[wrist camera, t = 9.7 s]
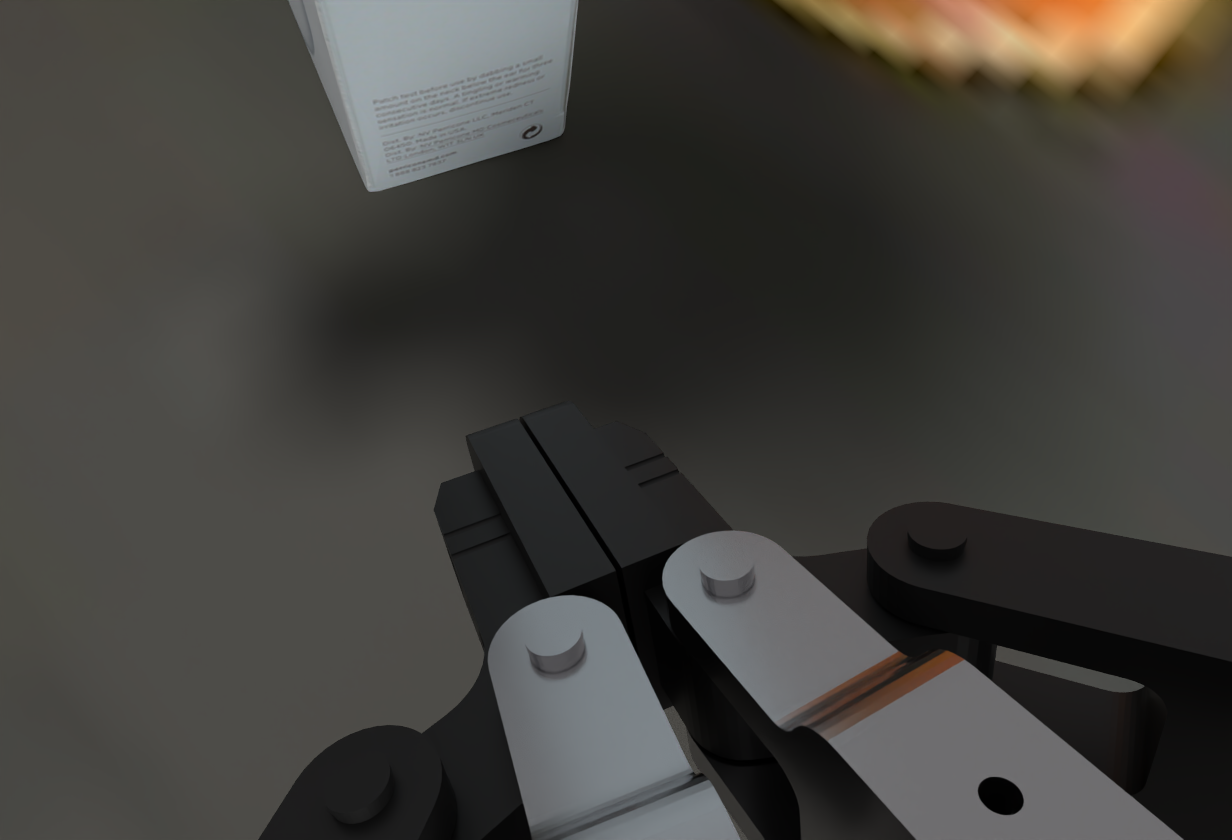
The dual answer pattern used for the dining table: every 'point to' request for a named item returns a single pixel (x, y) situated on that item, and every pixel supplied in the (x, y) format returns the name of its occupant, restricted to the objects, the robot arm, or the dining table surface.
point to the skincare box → (440, 78)
